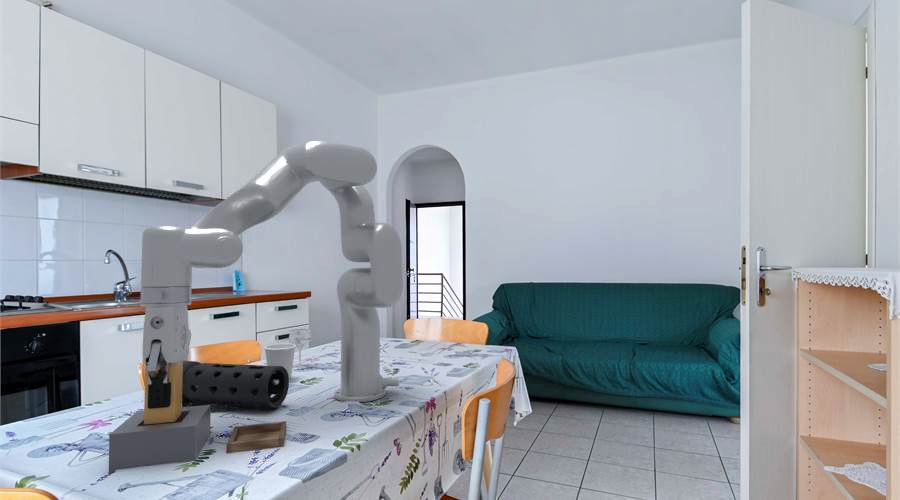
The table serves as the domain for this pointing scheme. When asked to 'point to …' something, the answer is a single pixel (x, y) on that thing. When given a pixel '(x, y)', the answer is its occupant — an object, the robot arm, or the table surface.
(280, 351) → the dixie cup
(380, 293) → the robot arm
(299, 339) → the wineglass
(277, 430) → the tray
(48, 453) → the table surface
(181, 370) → the plug
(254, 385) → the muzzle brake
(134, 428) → the socket block
